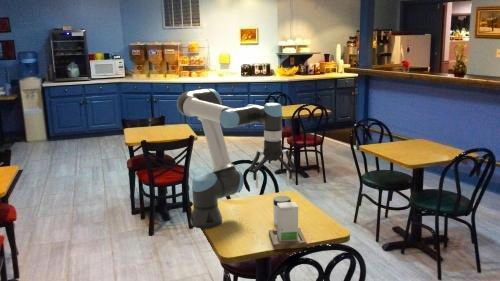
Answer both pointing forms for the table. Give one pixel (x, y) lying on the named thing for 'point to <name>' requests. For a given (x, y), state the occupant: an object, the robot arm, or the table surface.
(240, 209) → the table surface
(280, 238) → the skincare box
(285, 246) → the brown wooden tray
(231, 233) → the table surface
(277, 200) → the jar
